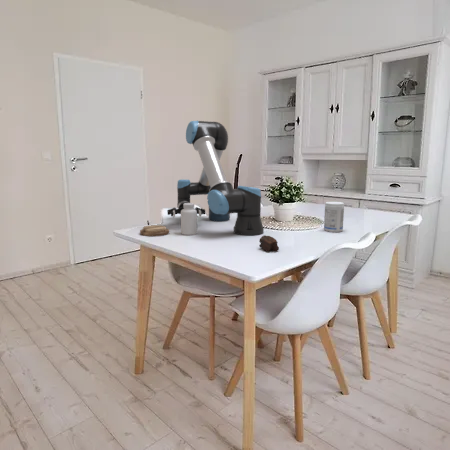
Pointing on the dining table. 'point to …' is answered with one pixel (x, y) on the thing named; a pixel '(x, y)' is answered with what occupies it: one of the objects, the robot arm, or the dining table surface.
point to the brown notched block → (268, 243)
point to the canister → (218, 216)
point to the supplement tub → (334, 216)
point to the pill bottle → (188, 219)
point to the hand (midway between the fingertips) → (187, 214)
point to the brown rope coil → (154, 230)
